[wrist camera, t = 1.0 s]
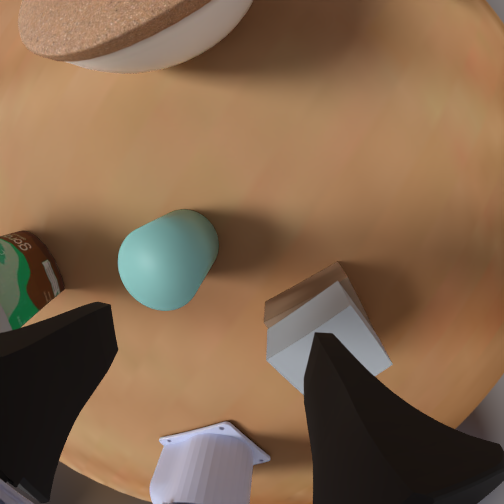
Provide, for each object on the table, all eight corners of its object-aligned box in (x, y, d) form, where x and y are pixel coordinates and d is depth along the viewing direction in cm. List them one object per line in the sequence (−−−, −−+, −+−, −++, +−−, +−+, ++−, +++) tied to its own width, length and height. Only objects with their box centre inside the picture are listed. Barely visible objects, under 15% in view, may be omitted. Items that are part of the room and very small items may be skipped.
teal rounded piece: (179, 287, 19) (152, 323, 14) (141, 233, 18) (103, 255, 14) (232, 254, 18) (218, 285, 14) (193, 195, 17) (164, 206, 13)
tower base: (302, 354, 20) (306, 380, 18) (265, 300, 19) (263, 322, 16) (367, 320, 19) (380, 343, 16) (336, 260, 18) (347, 277, 15)
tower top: (313, 376, 17) (318, 408, 15) (267, 329, 17) (266, 360, 14) (377, 336, 16) (392, 364, 13) (337, 280, 15) (350, 304, 13)
